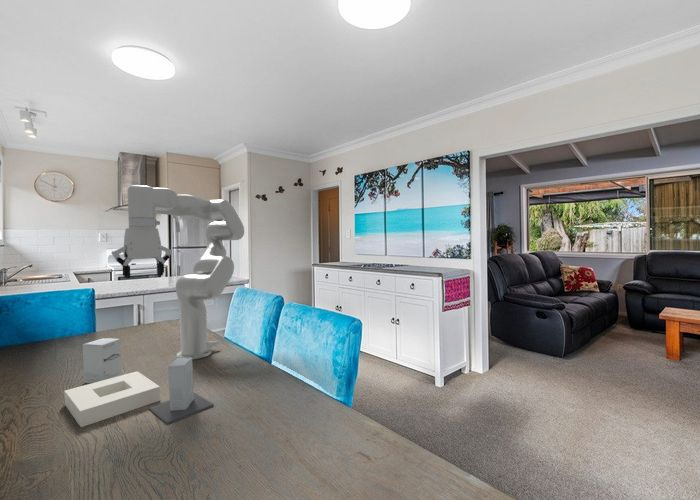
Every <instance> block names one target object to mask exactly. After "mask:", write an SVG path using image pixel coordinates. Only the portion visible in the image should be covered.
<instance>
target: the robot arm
mask: <svg viewBox="0 0 700 500" xmlns="http://www.w3.org/2000/svg"><path fill="white" fill-rule="evenodd" d="M127 213H128V214H127V215H128V216H127V217H128V228H125V230H124V236H123V237H124V239H123V246H122V247H120V248H118V249H116V250H114V251H112V252H111V255H112V256H113V258H114V259H115V261H116V262H117V263H118V264H120V265H121V266H122V276H123V277H124V279H127V280H128V279H131V266H130V265H129V264H130V263H131V262H132V260H150V259H154V260H155V261H157V263H156V275H157V276H159V277H160V276H161V277H162V276H164V273H165V263H166V261H168V260H169V258H170V256H171V254H172V252H173V251H172V249H171V248H169V247H166V246H164V245H162V243H161V236H160V232H159V229H158V228H157V226H160V225H161V222H160V220H157V218H156V214H159V215H169V216H176V217H182V218H183V217H185V218H192V219H198V220H200V221H201V220H202V221H203V220H204V221H213V222H210V223H208V224H207V225H206V228H205V236H206V248H205V250H204V251H203V253H201V255H200V256H199V258H198V259H197V261H196V262H195V263H194V266H193V269H192V270H193V271H192V273H193V274H185V275H181V276H180V277H179V278H178V279H177V280H176V283H175V292H176V293H175V294H176V297H177V301H178V307H179V331H180V333H179V335H180V336H179V337H180V351H178V352H177V353H176V359H177V358H192V361H194V360H199V359H202V358H206V357H208V356H210V355H211V354H212V352H213V351H212V347H216V346H219V345H220V341H219V340H210V341H209V340H208V325H207V324H208V321H207V320H208V319H207V307H206V304H205V303H204V301H203V300H207V301H208V300H216V299H218V298H219V297H220V296H221V295H222V293H223V292H224V290H225V288H226V286H227V285H228V284H229V282H230V280H231V279H232V277H233V275H234V271H235V263H234V261H233V260H232V258H230V257H229V256H228V255H227V249H226V247H225V246H224V244H223V241H239V240H241V239H242V238H243V237H244V236H245V227H244V224H243V222H242V220H241V218H240V216H239V215H238V213H237V211H236V209H235V207H234V205H232V204H231V202H230V201H228V200H227V199H206V198H202V197H200V196H199V197H198V196H195V195H193V194H192V195H191V194H177V193H176V191H175V190H174V189H171V188H169V187H168V188H166V187H152V186H150V185H149V186H148V185H141V184H140V185H139V184H135V185H130V186H129V187H127ZM162 252H165V254H164V255H163V256H162ZM122 253H123V256H124V257H123V258H124V259H123V258H121V256H120V254H122Z"/></svg>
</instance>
